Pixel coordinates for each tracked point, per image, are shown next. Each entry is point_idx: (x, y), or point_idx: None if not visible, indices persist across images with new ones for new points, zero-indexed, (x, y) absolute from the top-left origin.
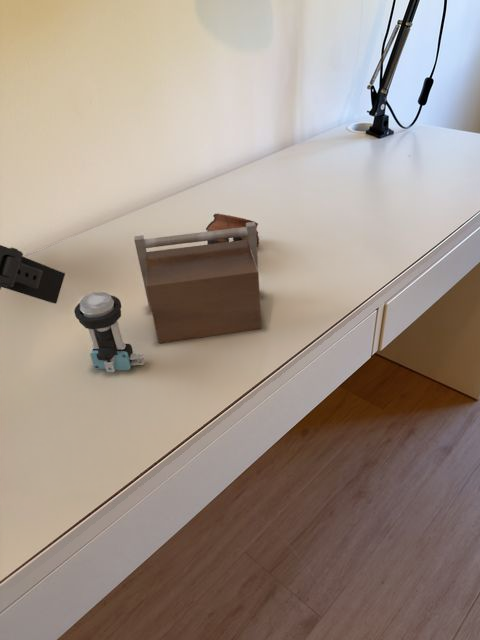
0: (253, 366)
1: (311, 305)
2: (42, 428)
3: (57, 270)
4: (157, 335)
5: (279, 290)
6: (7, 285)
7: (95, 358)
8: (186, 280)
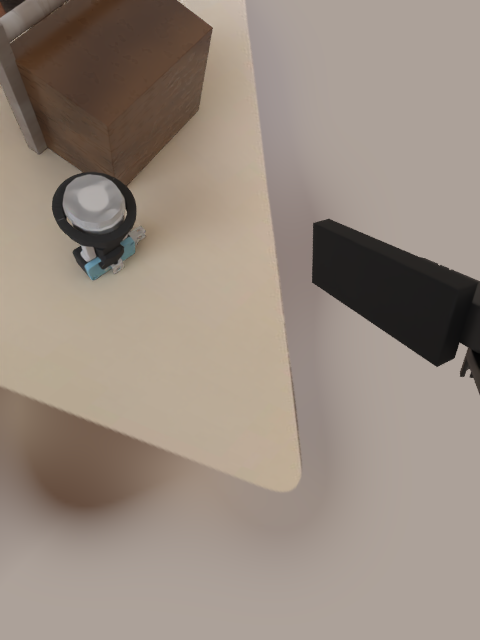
0: (243, 164)
1: None
2: (143, 388)
3: (343, 225)
4: None
5: None
6: None
7: (94, 270)
8: (148, 86)
